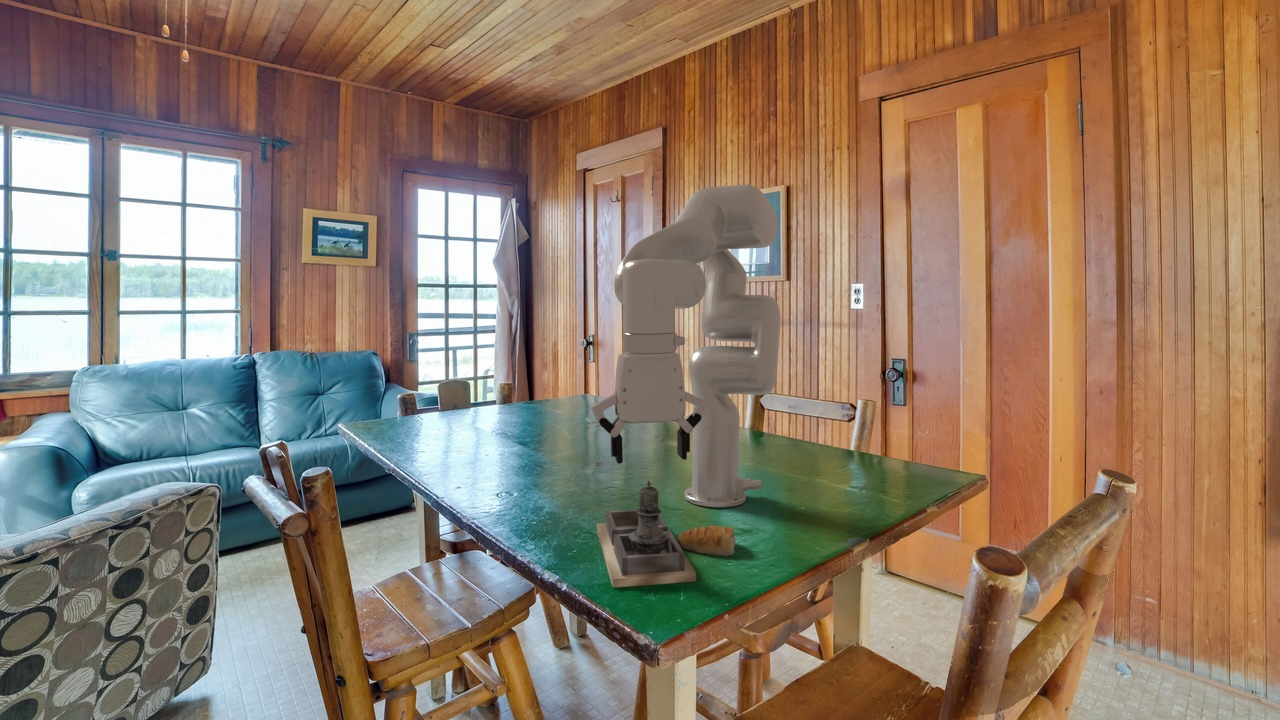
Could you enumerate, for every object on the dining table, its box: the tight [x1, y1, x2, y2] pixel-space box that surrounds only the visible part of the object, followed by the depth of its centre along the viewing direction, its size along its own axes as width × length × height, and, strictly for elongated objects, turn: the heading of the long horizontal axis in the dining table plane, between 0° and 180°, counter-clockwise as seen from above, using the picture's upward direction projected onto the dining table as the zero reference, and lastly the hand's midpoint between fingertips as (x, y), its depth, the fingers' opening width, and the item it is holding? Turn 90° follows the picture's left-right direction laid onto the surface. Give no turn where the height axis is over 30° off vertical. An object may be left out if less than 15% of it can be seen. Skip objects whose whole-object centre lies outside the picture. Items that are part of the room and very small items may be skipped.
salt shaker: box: [629, 480, 668, 555], centre depth 88 cm, size 6×6×12 cm
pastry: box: [677, 524, 737, 557], centre depth 96 cm, size 9×7×4 cm
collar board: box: [596, 509, 697, 589], centre depth 94 cm, size 12×22×4 cm, turn 10°
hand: (650, 459), depth 88 cm, fingers open, 9 cm apart
